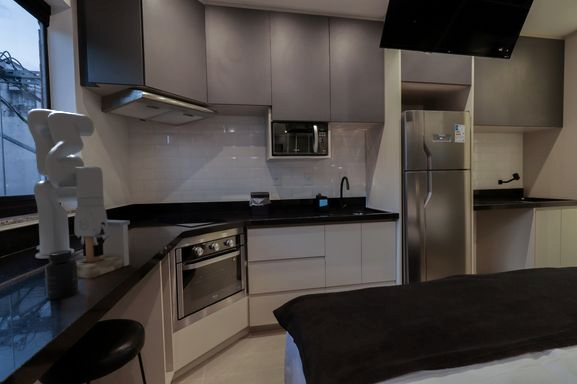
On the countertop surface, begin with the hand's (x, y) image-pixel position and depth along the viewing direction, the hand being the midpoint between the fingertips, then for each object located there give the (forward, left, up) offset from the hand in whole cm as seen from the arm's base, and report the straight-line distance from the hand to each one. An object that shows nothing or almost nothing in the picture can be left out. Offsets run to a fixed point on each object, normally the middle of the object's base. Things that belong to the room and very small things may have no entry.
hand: (93, 254), depth 98 cm
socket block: (0, 0, -6) cm, 6 cm away
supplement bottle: (+11, -18, -6) cm, 22 cm away
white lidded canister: (0, +8, -6) cm, 10 cm away
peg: (0, 0, -3) cm, 3 cm away
